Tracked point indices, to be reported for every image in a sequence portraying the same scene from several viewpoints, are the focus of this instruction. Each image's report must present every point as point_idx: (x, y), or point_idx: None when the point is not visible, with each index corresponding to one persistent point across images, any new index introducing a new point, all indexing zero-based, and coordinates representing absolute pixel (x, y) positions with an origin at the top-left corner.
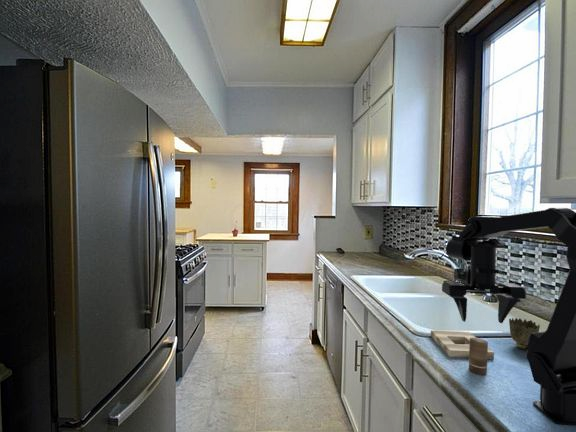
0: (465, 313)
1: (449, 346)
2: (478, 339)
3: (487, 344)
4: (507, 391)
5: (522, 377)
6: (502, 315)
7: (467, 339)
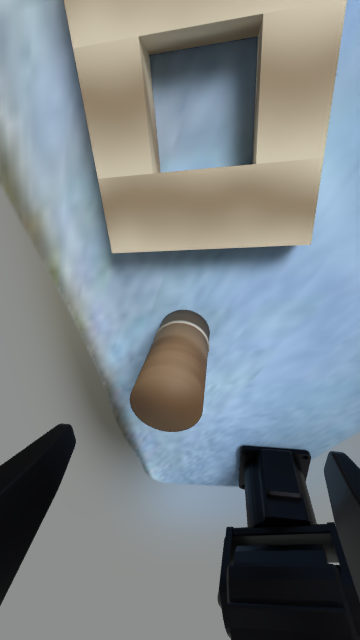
0: (30, 529)
1: (118, 213)
2: (171, 394)
3: (193, 421)
4: (214, 411)
5: (310, 355)
6: (349, 566)
7: (260, 66)
